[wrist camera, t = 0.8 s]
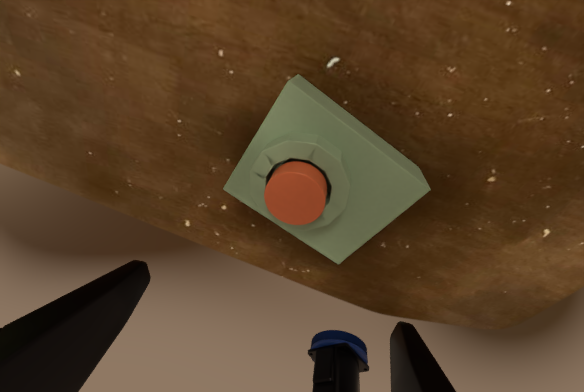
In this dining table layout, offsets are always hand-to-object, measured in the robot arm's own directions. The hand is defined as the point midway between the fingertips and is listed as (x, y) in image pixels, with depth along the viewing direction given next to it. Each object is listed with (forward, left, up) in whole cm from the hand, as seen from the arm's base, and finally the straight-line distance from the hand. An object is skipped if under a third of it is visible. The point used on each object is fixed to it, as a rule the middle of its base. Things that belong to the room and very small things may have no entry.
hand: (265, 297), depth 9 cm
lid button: (-1, +1, -10) cm, 10 cm away
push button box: (-2, 0, -15) cm, 15 cm away
